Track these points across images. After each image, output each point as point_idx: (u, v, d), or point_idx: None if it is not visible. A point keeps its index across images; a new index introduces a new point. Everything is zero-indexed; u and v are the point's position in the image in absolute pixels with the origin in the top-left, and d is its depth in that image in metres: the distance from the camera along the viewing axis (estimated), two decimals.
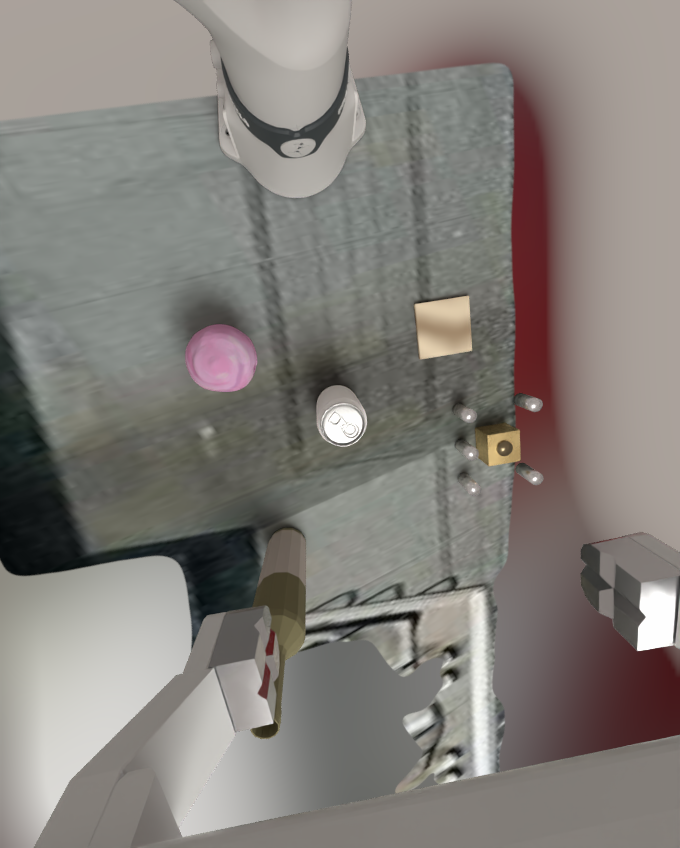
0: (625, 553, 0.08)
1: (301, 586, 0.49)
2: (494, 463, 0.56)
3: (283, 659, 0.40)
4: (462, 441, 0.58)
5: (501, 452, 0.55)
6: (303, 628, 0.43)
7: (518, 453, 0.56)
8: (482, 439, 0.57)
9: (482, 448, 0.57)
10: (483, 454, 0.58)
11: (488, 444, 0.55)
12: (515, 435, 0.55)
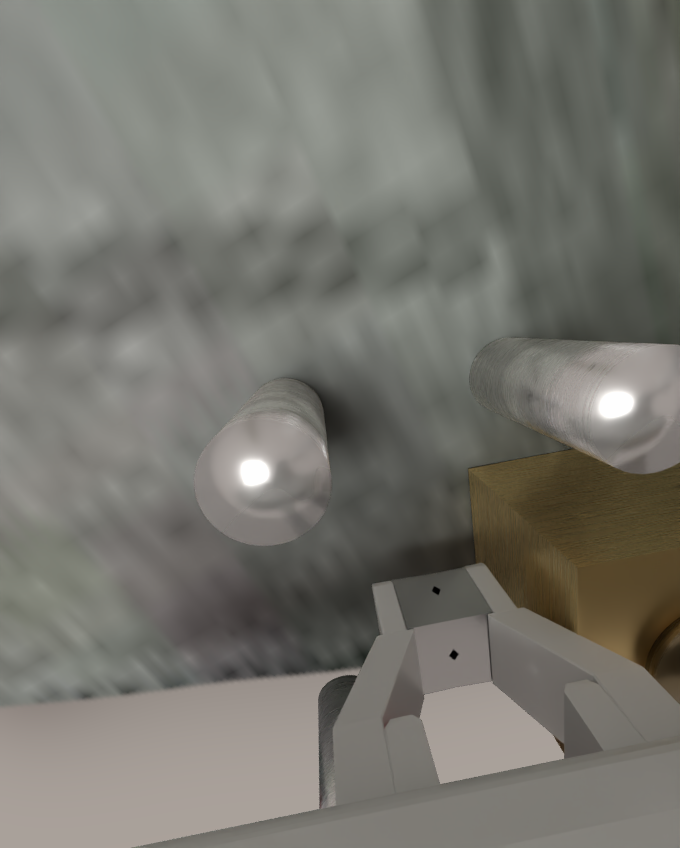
0: (452, 586, 0.08)
1: None
2: (594, 608, 0.06)
3: None
4: None
5: None
6: None
7: None
8: None
9: (621, 494, 0.08)
10: (581, 505, 0.08)
11: None
12: None
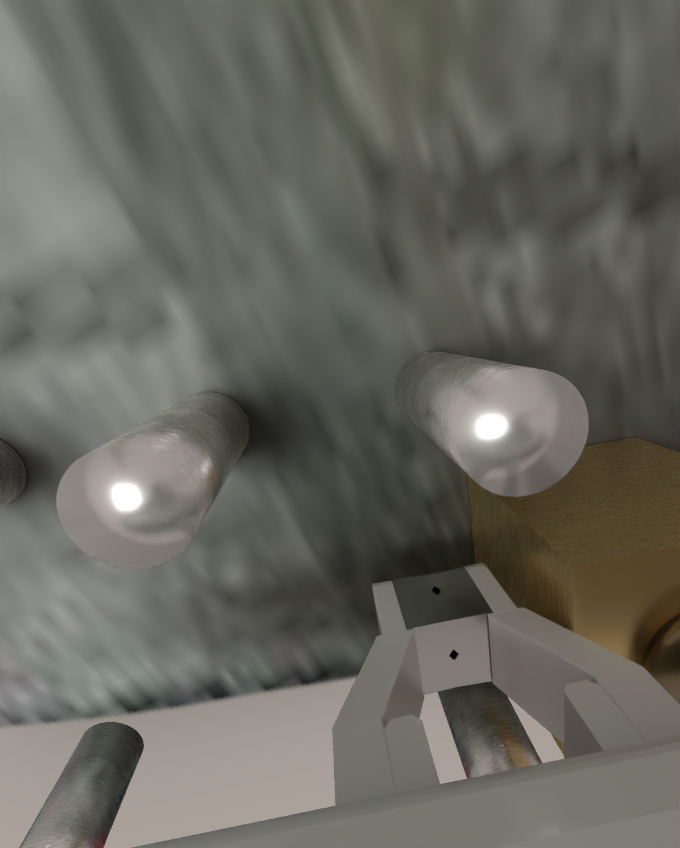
0: (452, 586, 0.08)
1: None
2: (590, 607, 0.06)
3: None
4: (239, 428, 0.09)
5: None
6: None
7: None
8: (678, 481, 0.08)
9: (618, 494, 0.08)
10: (578, 504, 0.08)
11: None
12: None
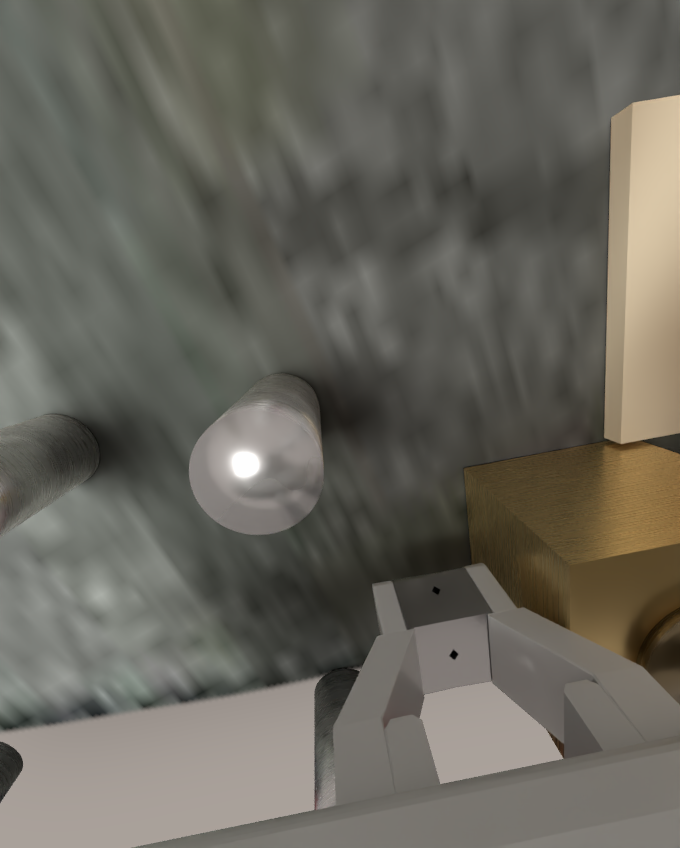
0: (452, 587, 0.08)
1: None
2: (586, 604, 0.06)
3: None
4: (69, 453, 0.09)
5: None
6: None
7: None
8: (672, 480, 0.08)
9: (614, 493, 0.08)
10: (574, 503, 0.08)
11: None
12: None
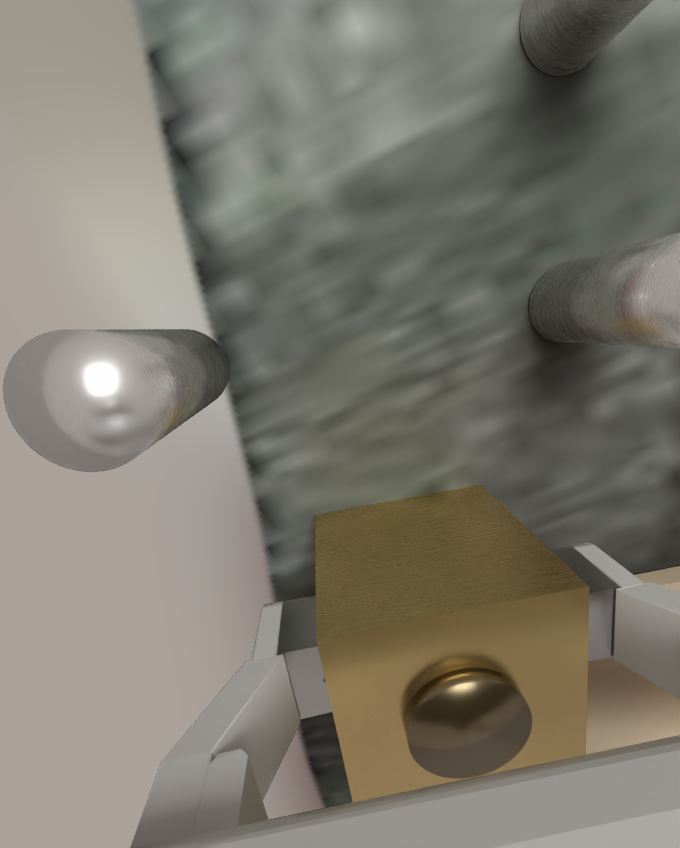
0: (566, 564, 0.08)
1: None
2: (542, 609, 0.07)
3: None
4: (605, 38, 0.07)
5: (499, 708, 0.07)
6: None
7: (342, 689, 0.07)
8: None
9: None
10: None
11: (580, 731, 0.08)
12: None
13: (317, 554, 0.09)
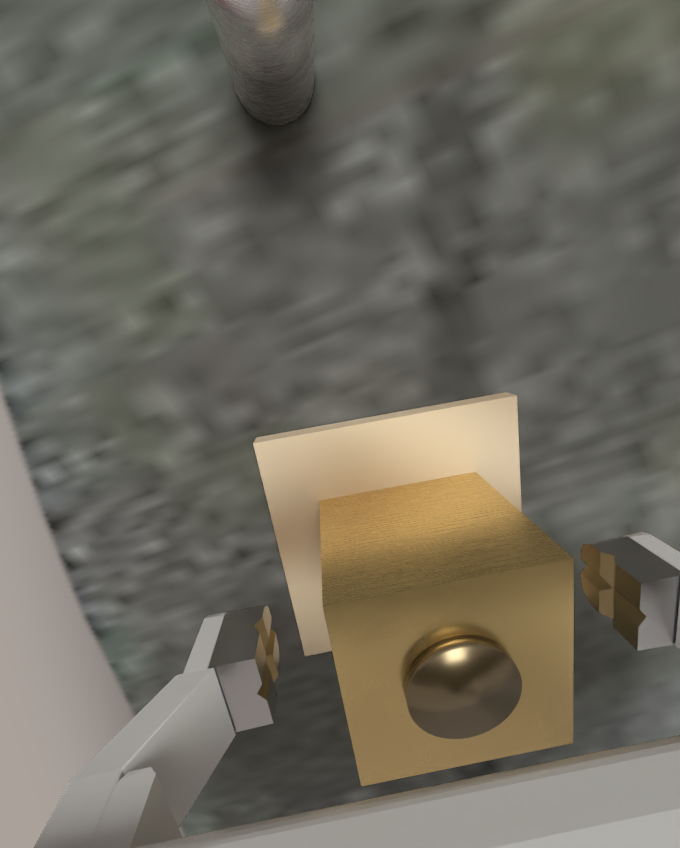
0: (625, 553, 0.08)
1: None
2: (530, 580, 0.07)
3: None
4: None
5: (491, 671, 0.07)
6: None
7: (347, 654, 0.07)
8: None
9: None
10: None
11: (567, 697, 0.08)
12: (385, 757, 0.08)
13: (322, 535, 0.09)
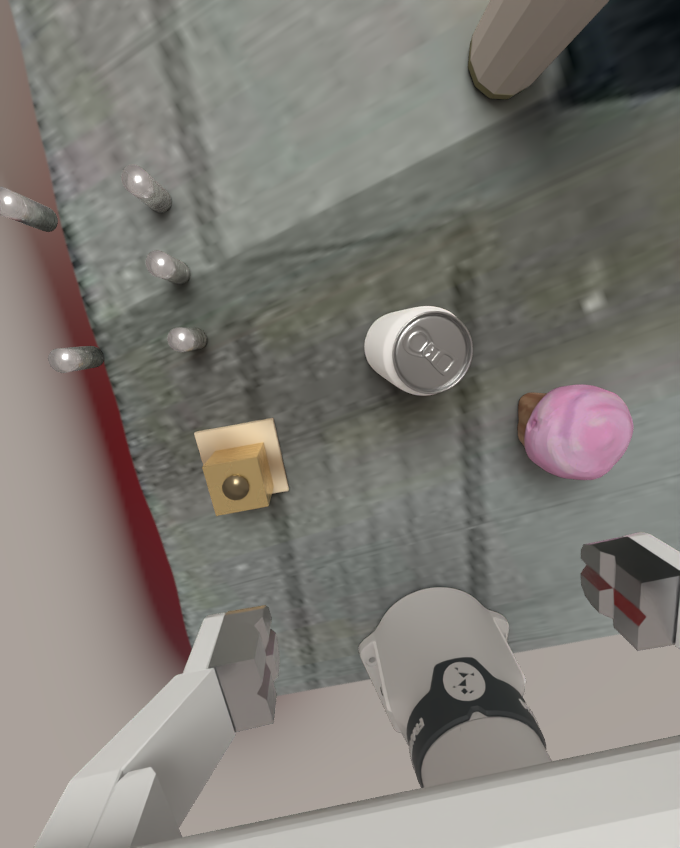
0: (625, 553, 0.08)
1: None
2: (247, 461, 0.33)
3: None
4: (179, 282, 0.33)
5: (240, 482, 0.33)
6: None
7: (208, 478, 0.33)
8: (268, 485, 0.36)
9: (264, 472, 0.35)
10: (262, 463, 0.35)
11: (263, 492, 0.34)
12: (221, 507, 0.34)
13: (210, 457, 0.35)
